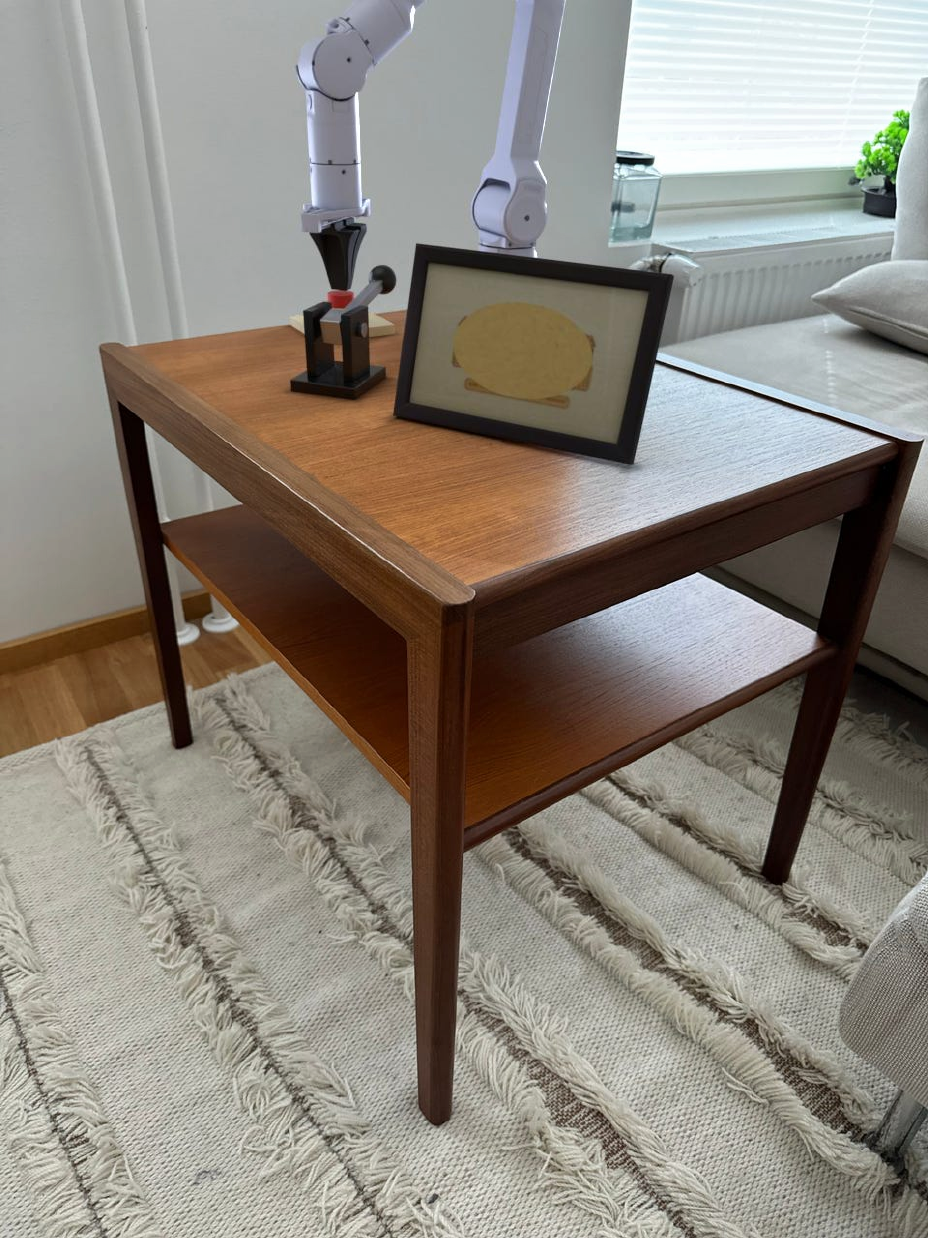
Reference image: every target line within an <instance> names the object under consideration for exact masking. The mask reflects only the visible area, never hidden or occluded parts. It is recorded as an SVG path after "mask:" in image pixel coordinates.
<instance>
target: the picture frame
mask: <svg viewBox="0 0 928 1238" xmlns="http://www.w3.org/2000/svg"><path fill="white" fill-rule="evenodd" d="M674 278H675V275H674V274H672V273H665V272H658V271H649V270H640V269H633V268H623V267H616V266H606V265H600V264H591V263H590V264H589V263H582V262H575V261H565V260H557V259H550V258H541V257H537V258H534V257H526V256H518V255H509V254H501V253H493V252H485V251H478V250H477V249H476V250H475V249H467V248H461V247H460V248H459V247H450V246H442V245H436V244H435V245H433V244H425V243H419V242H418V243H417V242H415V248H414V255H413V262H412V270H411V278H410V285H409V292H408V300H407V308H406V316H405V323H404V331H403V338H402V344H401V352H400V360H399V368H398V375H397V382H396V389H395V396H394V397H395V398H394V404H393V412H392V416H393V417H398V418H404V419H408V420H414V421H417V422H423V423H428V424H433V425H437V426H442V427H447V428H451V429H457V430H462V431H464V432H465V431H466V432H470V433H475V434H480V435H484V436H489V437H494V438H500V439H504V440H509V441H514V442H519V443H523V444H528V445H532V446H536V447H537V446H538V447H542V448H545V449H552V450H556V451H561V452H565V453H566V452H567V453H571V454H575V455H580V456H585V457H590V458H594V459H600V460H604V461H610V462H613V463H619V464H623V465H628V466H634V465H635V461H636V455H637V451H638V446H639V442H640V438H641V437H640V436H641V431H642V428H643V423H644V419H645V413H646V408H647V404H648V400H649V394H650V390H651V386H652V381H653V378H654V377H653V376H654V372H655V367H656V362H657V358H658V354H659V353H658V352H659V349H660V343H661V339H662V335H663V330H664V325H665V321H666V315H667V312H668V311H667V310H668V307H669V302H670V298H671V292H672V288H673V283H674Z"/></svg>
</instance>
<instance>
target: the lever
mask: <svg viewBox="0 0 928 1238" xmlns="http://www.w3.org/2000/svg"><path fill="white" fill-rule="evenodd" d="M396 285H397V275H396V272H395V271H394V269H393V268H392V267H390V266H388V265H387V264H386V265H385V264H378V265H376V266H374V267H373V268H372V269H371V270H370V272H369V274H368V284H367V285H366V286H365V287H364V288H363V289H361V290H360V292H359V293H358V294H357V295H356V296H354V299H353V300H352V301H351V302H350V303H349V304H348V305H347V306H346V307H345V308H344V310H338V309H330V310H329V311H328V312H327V313H326V314H325V315H324V316H323V317H322V318H321V319H320V327H321V334H322V340H323V343H326V344H334V346H335V345H336V346H342V331H341V315H342V314H344V313H345V312H347V311H349V310H351V309H353V308H355V307H357V306H359V305H362V306H368V307H369V305H370V304H371V303H372V302H373V301H374V300H375V298H377V297H378V295H388V294H390V293H391V292H393V291H394V289H395V288H396Z"/></svg>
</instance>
